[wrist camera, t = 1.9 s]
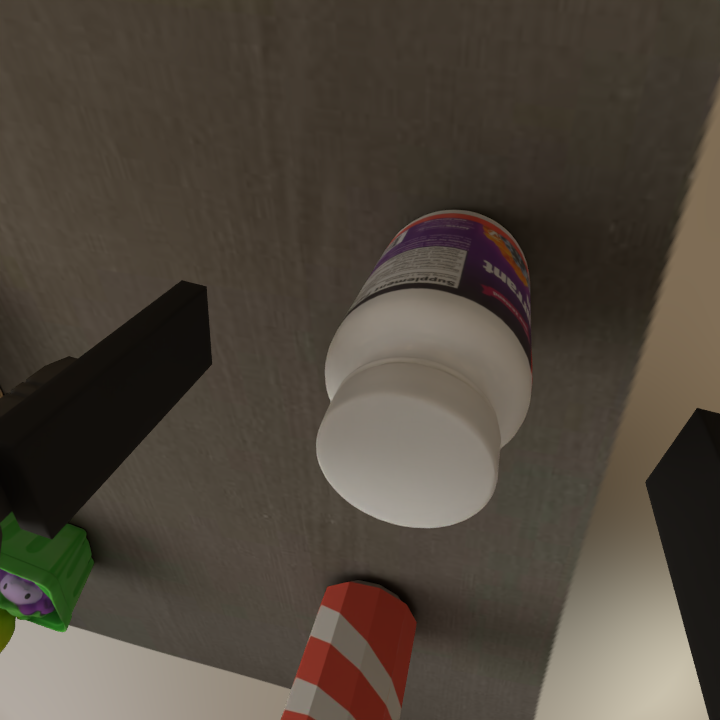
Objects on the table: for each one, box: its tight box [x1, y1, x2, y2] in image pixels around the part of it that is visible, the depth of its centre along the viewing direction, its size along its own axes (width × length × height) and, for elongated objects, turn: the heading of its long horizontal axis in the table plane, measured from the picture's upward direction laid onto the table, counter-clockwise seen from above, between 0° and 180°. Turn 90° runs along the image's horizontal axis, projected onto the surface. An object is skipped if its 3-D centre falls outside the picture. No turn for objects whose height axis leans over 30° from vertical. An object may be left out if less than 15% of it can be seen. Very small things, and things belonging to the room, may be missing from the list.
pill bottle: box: [316, 210, 532, 528], centre depth 14 cm, size 5×5×10 cm
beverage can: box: [281, 580, 417, 720], centre depth 28 cm, size 6×6×12 cm
